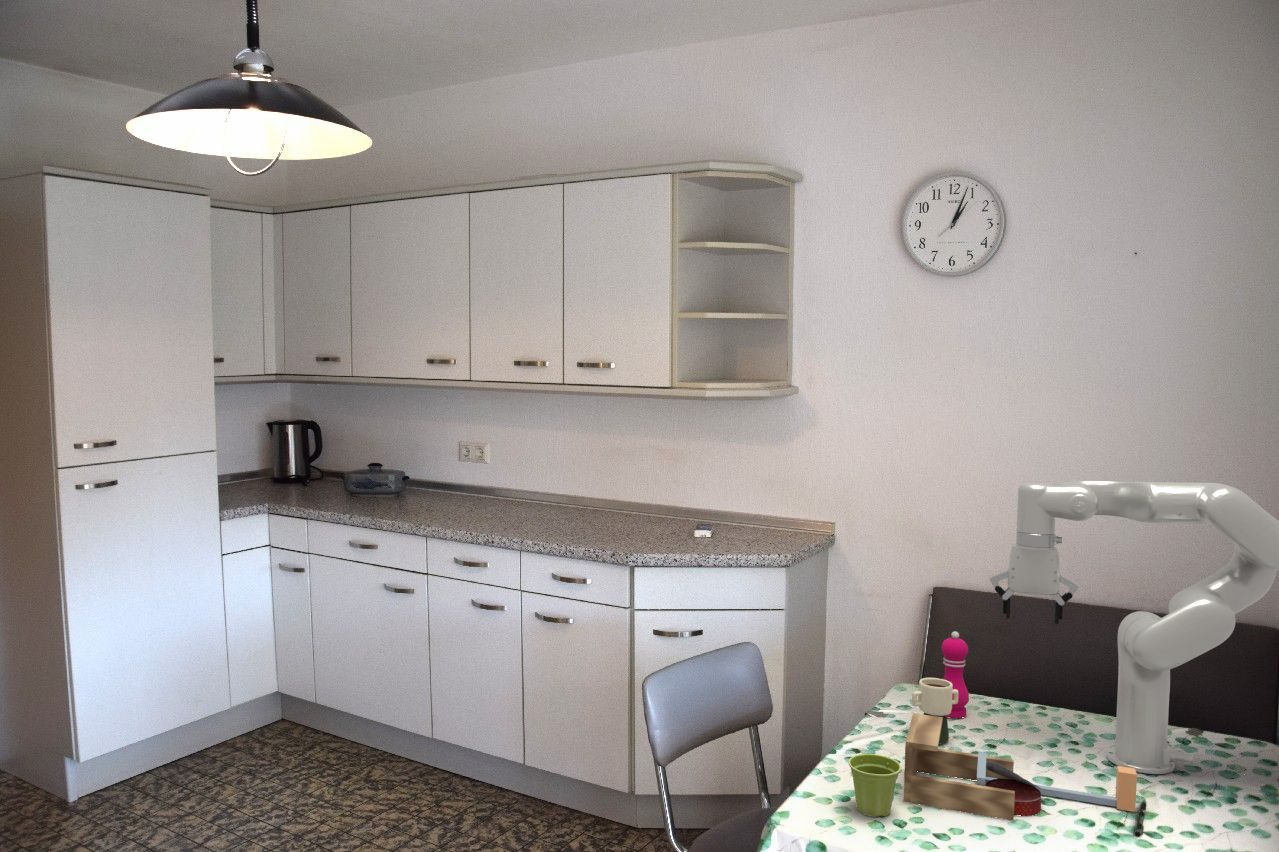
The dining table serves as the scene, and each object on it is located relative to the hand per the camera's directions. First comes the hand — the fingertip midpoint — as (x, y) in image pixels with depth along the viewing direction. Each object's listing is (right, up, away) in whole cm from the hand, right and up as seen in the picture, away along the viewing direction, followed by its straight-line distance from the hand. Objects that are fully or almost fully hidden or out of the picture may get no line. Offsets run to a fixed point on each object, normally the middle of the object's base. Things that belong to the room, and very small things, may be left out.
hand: (1031, 619), depth 202 cm
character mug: (-19, -28, +5) cm, 34 cm away
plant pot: (-41, -29, -29) cm, 58 cm away
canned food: (-14, -30, -25) cm, 41 cm away
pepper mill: (-10, -27, +22) cm, 36 cm away
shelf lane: (-22, -29, -21) cm, 42 cm away
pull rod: (-7, -29, -27) cm, 40 cm away
